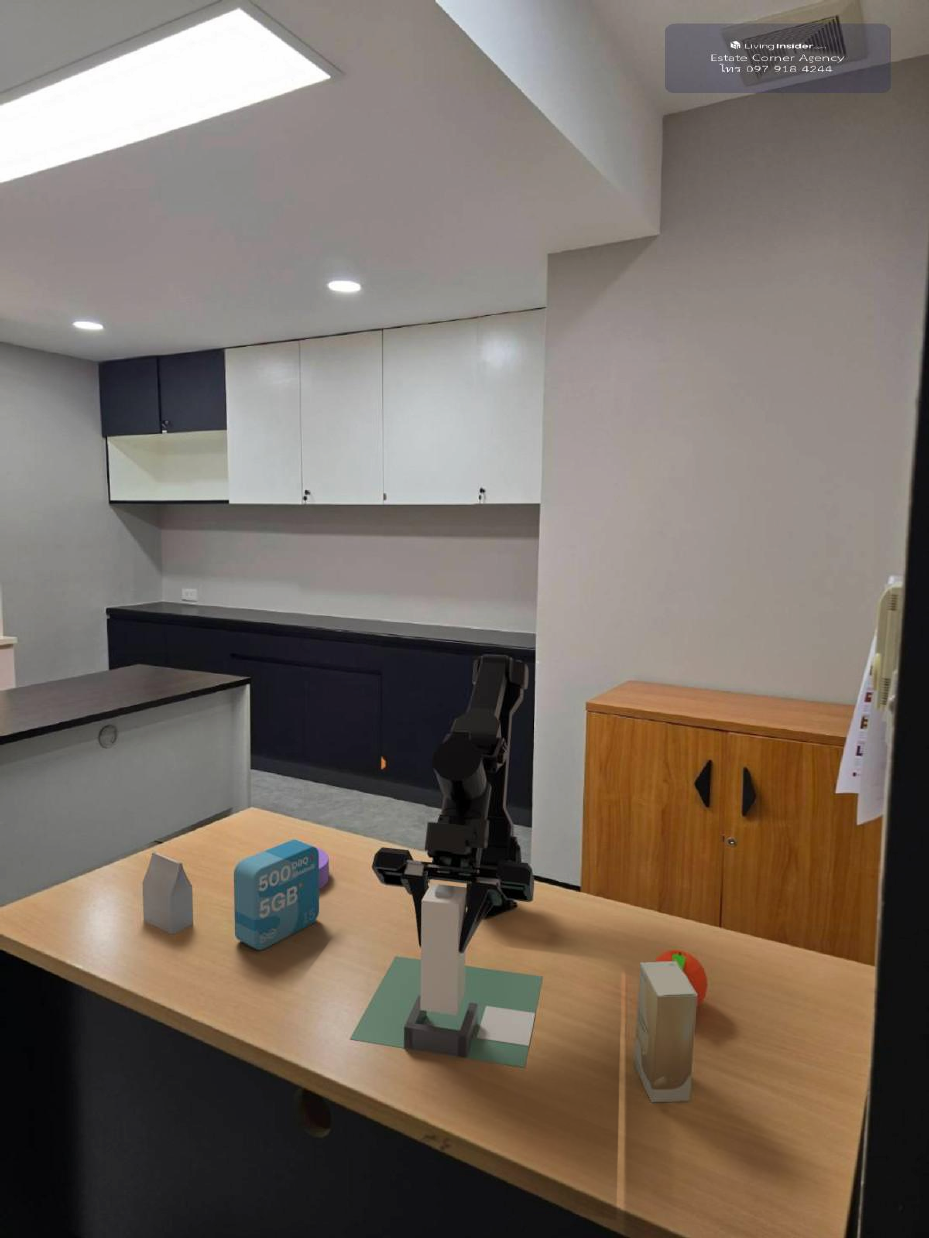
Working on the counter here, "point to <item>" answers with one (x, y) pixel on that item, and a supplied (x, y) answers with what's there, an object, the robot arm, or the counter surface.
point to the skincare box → (665, 1031)
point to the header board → (480, 1030)
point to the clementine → (688, 970)
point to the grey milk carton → (167, 895)
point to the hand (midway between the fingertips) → (440, 949)
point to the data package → (276, 893)
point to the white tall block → (442, 949)
